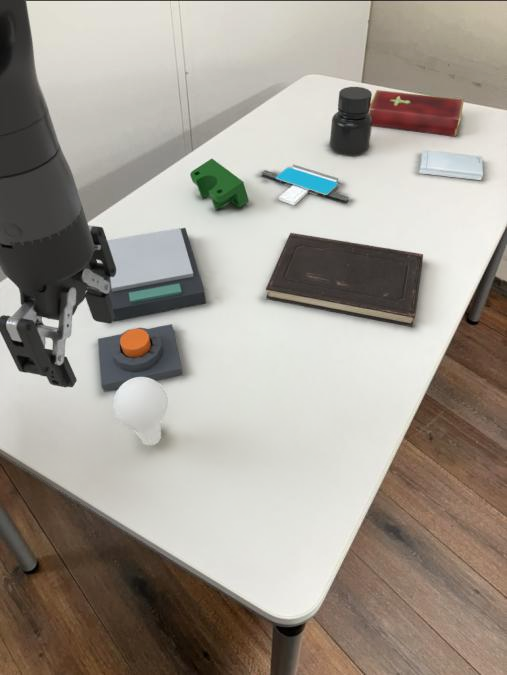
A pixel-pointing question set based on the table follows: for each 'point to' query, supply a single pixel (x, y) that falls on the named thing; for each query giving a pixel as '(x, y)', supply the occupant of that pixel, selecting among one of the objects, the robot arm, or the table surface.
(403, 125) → the hardcover book
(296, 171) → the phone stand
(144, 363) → the control unit
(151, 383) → the lightbulb
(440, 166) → the hard drive
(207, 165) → the clamp
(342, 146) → the ink bottle
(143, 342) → the button
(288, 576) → the table surface
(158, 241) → the scale
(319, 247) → the hardcover book
